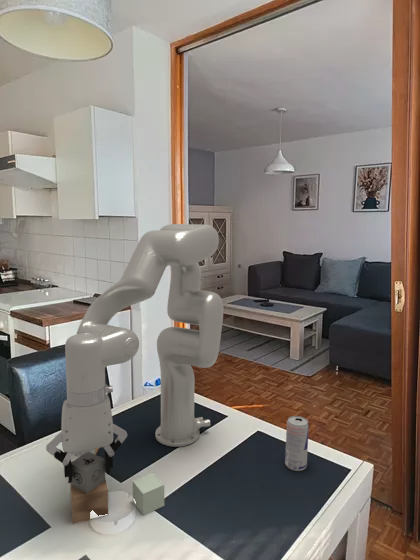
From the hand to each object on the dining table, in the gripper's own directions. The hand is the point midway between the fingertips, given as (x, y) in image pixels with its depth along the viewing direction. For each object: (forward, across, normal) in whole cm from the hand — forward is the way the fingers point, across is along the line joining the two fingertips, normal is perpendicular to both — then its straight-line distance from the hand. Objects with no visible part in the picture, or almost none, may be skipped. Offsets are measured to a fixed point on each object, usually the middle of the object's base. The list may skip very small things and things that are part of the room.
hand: (89, 474), depth 84 cm
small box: (+8, -2, -24) cm, 25 cm away
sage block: (+8, -12, +3) cm, 15 cm away
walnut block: (+8, 0, 0) cm, 8 cm away
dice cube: (+2, 0, 0) cm, 2 cm away
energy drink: (+8, -50, +2) cm, 51 cm away
